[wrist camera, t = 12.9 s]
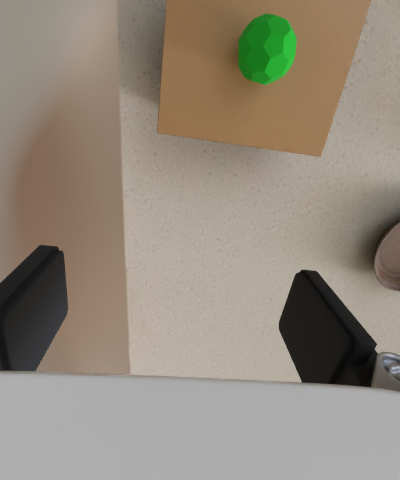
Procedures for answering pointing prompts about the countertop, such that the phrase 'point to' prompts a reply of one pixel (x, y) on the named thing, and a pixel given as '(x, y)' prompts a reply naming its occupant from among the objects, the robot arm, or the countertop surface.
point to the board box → (249, 92)
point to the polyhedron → (266, 49)
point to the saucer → (389, 259)
